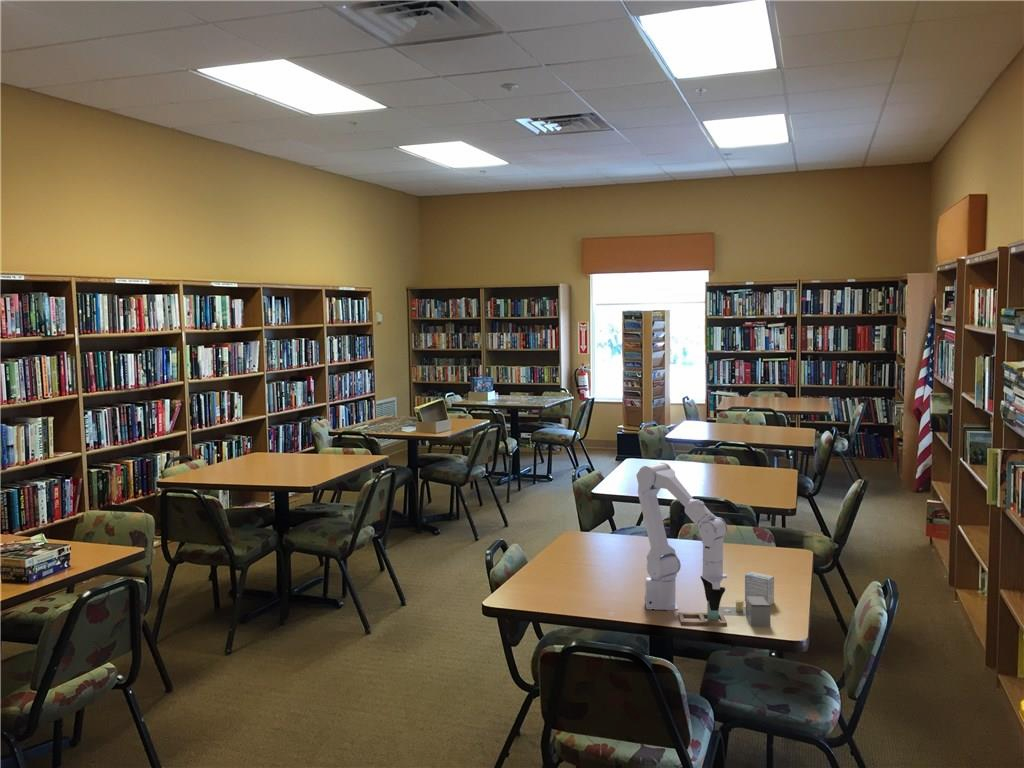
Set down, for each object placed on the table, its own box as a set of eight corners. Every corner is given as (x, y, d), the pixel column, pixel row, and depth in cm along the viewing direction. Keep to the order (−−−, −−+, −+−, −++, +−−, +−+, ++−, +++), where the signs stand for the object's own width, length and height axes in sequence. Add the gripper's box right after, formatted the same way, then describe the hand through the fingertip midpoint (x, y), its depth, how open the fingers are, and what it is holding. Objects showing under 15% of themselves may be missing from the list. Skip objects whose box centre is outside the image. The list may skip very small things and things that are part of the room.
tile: (720, 615, 239) (720, 604, 239) (716, 607, 246) (716, 597, 246) (751, 616, 238) (751, 605, 238) (746, 608, 245) (746, 597, 245)
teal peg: (708, 623, 233) (708, 603, 232) (706, 619, 236) (706, 600, 235) (719, 623, 233) (719, 603, 232) (717, 619, 236) (717, 599, 235)
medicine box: (774, 603, 249) (774, 576, 248) (768, 607, 246) (768, 579, 245) (750, 597, 254) (750, 571, 254) (744, 601, 251) (744, 574, 250)
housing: (745, 617, 238) (745, 595, 237) (764, 617, 237) (764, 596, 237) (751, 627, 230) (751, 605, 229) (770, 627, 229) (770, 605, 229)
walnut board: (681, 625, 231) (681, 621, 231) (678, 616, 239) (678, 612, 239) (726, 626, 230) (726, 622, 230) (722, 617, 238) (722, 613, 238)
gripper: (731, 567, 225) (730, 614, 226) (722, 553, 240) (722, 597, 241) (705, 567, 226) (705, 614, 227) (698, 552, 240) (698, 596, 241)
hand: (712, 605), depth 234 cm, fingers open, 7 cm apart
